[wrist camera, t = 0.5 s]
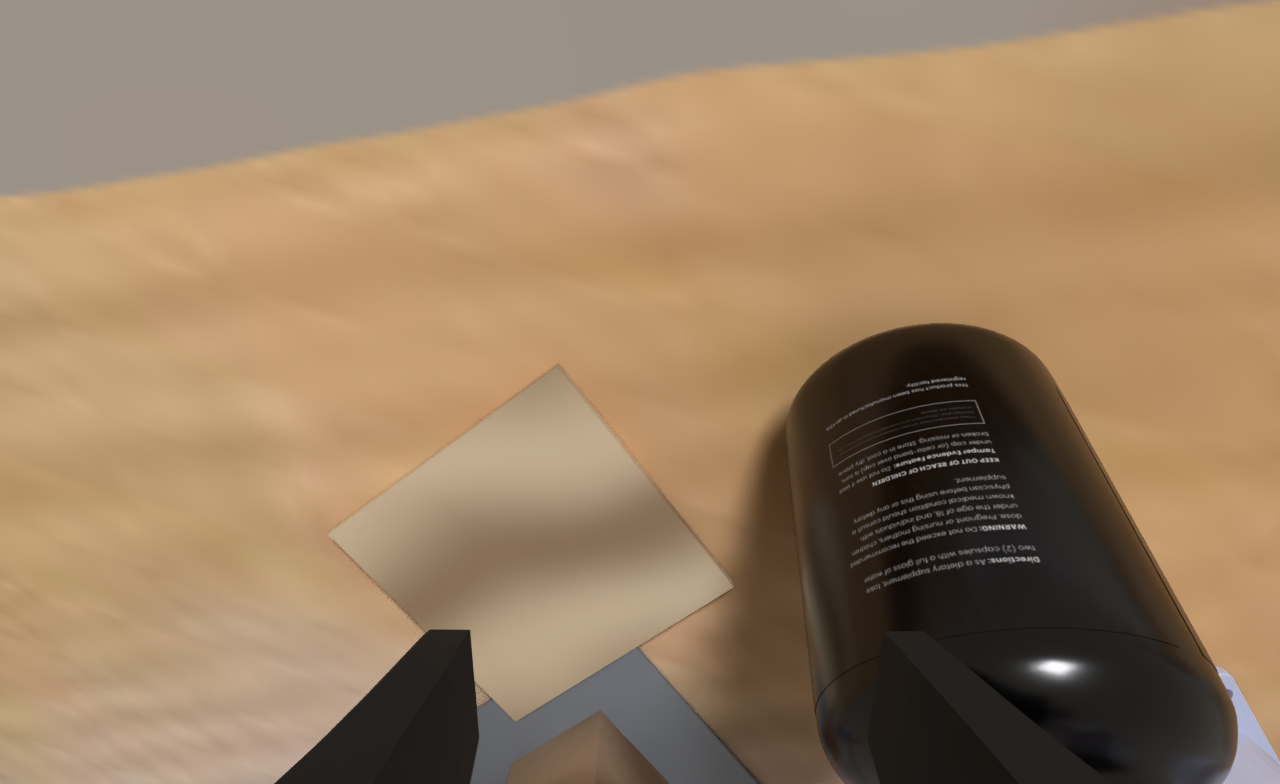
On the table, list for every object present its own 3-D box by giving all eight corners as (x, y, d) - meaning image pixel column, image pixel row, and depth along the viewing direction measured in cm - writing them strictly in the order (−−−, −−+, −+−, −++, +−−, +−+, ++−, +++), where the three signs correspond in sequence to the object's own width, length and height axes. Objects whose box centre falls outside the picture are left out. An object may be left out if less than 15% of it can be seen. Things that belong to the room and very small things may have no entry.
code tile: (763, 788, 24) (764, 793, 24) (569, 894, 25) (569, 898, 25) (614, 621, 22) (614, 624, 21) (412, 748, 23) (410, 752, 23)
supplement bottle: (764, 479, 20) (795, 1004, 12) (812, 300, 16) (924, 955, 7) (989, 500, 20) (1192, 1055, 11) (1106, 323, 15) (1604, 1038, 7)
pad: (732, 580, 21) (733, 587, 21) (517, 712, 23) (515, 721, 22) (558, 363, 19) (556, 367, 18) (334, 528, 20) (328, 534, 20)
